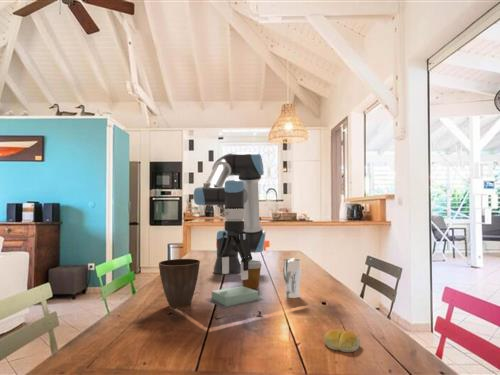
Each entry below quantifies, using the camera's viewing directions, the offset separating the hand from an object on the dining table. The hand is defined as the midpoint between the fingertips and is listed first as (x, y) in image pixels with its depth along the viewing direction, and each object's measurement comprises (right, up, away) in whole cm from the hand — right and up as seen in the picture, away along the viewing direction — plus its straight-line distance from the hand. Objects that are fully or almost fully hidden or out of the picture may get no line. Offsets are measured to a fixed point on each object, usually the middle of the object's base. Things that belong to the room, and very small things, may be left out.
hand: (234, 276), depth 131 cm
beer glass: (+22, -10, +4) cm, 25 cm away
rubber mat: (0, -10, 0) cm, 10 cm away
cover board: (0, -9, 0) cm, 9 cm away
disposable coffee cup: (+6, -11, +17) cm, 21 cm away
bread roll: (+30, -8, -40) cm, 51 cm away
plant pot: (-20, -10, -4) cm, 23 cm away
